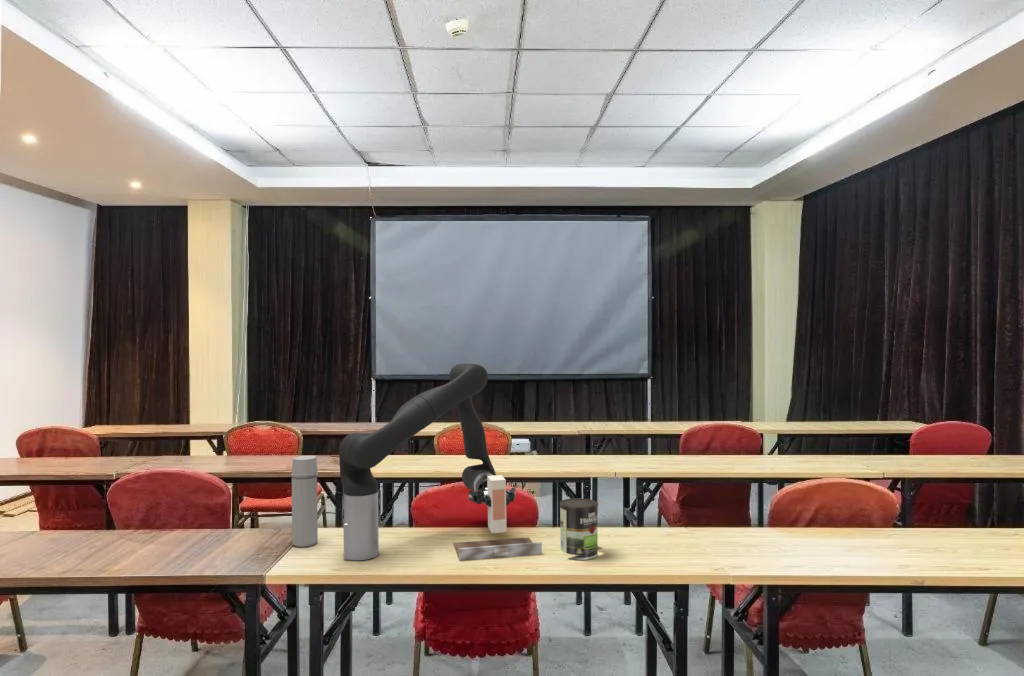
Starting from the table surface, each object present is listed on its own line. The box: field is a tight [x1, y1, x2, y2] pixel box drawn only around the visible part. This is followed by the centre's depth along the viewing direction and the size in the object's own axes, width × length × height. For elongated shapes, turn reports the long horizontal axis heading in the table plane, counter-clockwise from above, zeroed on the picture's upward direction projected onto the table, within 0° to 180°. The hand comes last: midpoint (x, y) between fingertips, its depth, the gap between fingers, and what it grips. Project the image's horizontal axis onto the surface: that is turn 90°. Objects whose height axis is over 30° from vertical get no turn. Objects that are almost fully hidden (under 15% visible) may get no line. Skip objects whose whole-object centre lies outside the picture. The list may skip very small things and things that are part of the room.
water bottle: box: [290, 455, 319, 548], centre depth 190 cm, size 9×8×25 cm
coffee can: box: [559, 497, 599, 561], centre depth 178 cm, size 10×10×14 cm
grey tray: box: [452, 537, 543, 562], centre depth 178 cm, size 22×15×4 cm
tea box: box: [487, 474, 507, 534], centre depth 177 cm, size 4×6×14 cm, turn 12°
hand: (498, 502), depth 174 cm, fingers closed on tea box, 4 cm apart
